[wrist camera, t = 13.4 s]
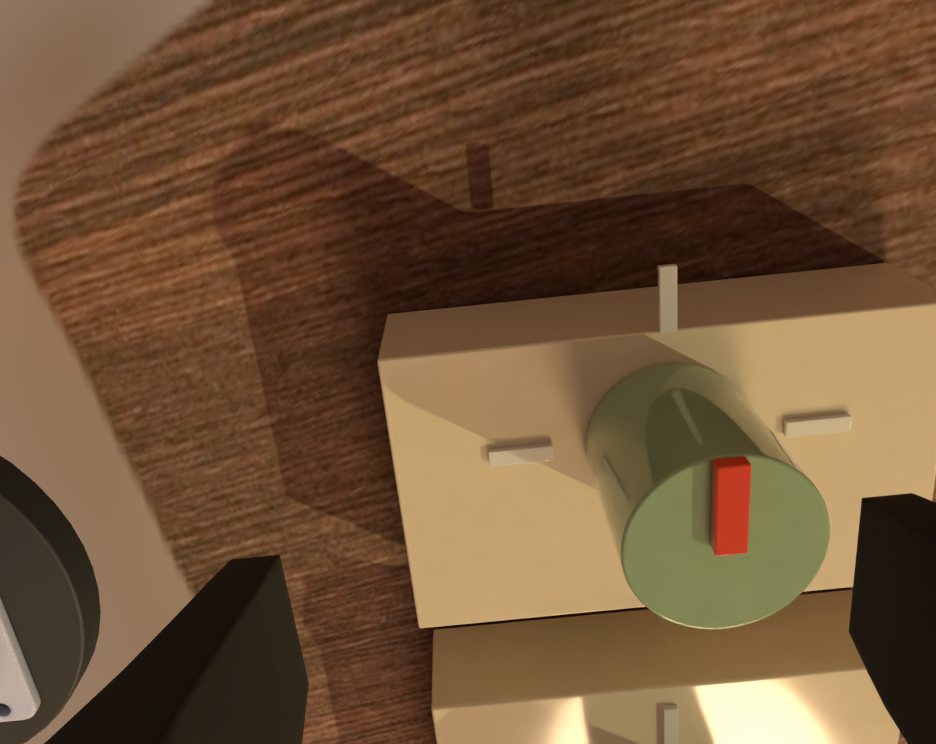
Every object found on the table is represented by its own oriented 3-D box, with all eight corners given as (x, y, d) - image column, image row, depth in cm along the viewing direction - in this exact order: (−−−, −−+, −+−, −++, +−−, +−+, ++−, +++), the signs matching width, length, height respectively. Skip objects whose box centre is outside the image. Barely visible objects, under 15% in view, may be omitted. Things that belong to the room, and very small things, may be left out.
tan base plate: (422, 555, 22) (417, 634, 19) (378, 256, 19) (365, 297, 16) (863, 512, 22) (925, 585, 19) (894, 203, 19) (975, 234, 16)
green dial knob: (748, 503, 18) (831, 633, 14) (588, 517, 18) (626, 651, 14) (754, 354, 17) (848, 453, 13) (581, 371, 17) (622, 474, 13)
